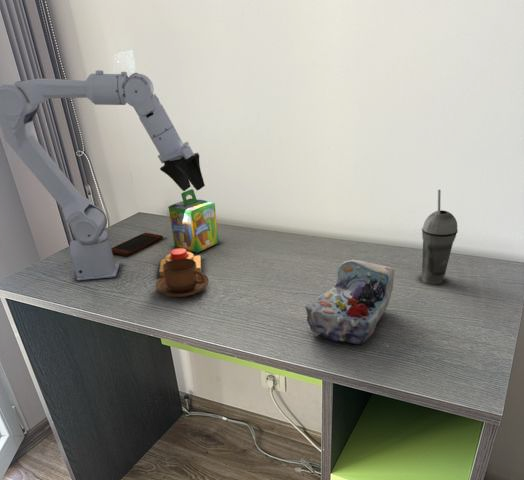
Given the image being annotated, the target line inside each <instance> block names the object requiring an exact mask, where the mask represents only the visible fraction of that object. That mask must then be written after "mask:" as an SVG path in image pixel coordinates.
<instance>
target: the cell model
mask: <svg viewBox="0 0 524 480" xmlns="http://www.w3.org/2000/svg"><path fill="white" fill-rule="evenodd" d="M394 278H395V269H394V268H393V267H390V266H385V265H381V264H378V263H374V262H369V261H366V260H360V259H349V260H345V261H343V262H342V263H341V264H340V265H339V267H338V269H337V277H336V282H335V284H334V285H333V286H332V288H331V289H330V290H329V291H326V292H323V293H321V294H320V295H319V296H317V297H315V298H314V299H313V301H311V302H309V303H308V304H306V306H305V311H306V322H307V324H308V326H309V327H310V331H311V332H312V333H313V335H314V336H315V337H318V336H322V337H323V338H325V339H328V340H331V341H332V342H333V341H334V342H337V343H338V342H340V343H341V342H345V343H348V344H352V345H362V344H364V343H365V342H366V341H367V340H368V339H370V337H371V336H372V335H373V334H374V331H376V330H375V329H376V326H377V323H378V322H379V321H380V320H381V318H382V316H383V314H384V313H385V311H386V309H387V308H388V305H389V303H390V300H391V297H392V293H393V289H394Z"/></svg>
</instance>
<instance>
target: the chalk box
mask: <svg viewBox="0 0 524 480" xmlns="http://www.w3.org/2000/svg"><path fill="white" fill-rule="evenodd" d="M180 195H181V198H182V201H179V202H176V203H173V204H171V205H168V208H167V209H168V212H169V219H170V224H171V225H170V226H171V231H172V232H171V233H172V237H173V238H172V239H173V245H174V249H179V248H182V249H186V250H187V252H191V253H197V254H198V253H200V252H203V251H205V250H206V249H209V248H211V247H214V246H216V245H218V244H219V241H220V240H219V233H218V232H219V231H218V221H217V212H216V203H215V202H212V201H207V200H204V199H197V196H196V194H195V190H194V189H193V188H191V189H187V190H185V191H183V192H181V194H180ZM188 196H191V198H188V199H187V197H188Z"/></svg>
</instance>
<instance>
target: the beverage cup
mask: <svg viewBox="0 0 524 480" xmlns="http://www.w3.org/2000/svg"><path fill="white" fill-rule="evenodd" d="M441 191H442V190H441V189H438V190H437V210H436V211H434V212H431V213H430V214H429V215H428V216H427V217H426V219H425V221H424V223H423V225H422V228H421V237H422V238H421V239H422V259H421V261H422V262H421V281H422V282H424V283H425V284H429V285H440V284H442V283H443V282H444V278H445V276H446V271H447V268H448V263H449V261H450V256H451V252H452V249H453V244H454V242H455V240H456V237H457V234H458V222H457V219H456V217H455V216H454V215H453V213H451V212H450V211H447V210H441V194H442V192H441Z"/></svg>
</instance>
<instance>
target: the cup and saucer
mask: <svg viewBox="0 0 524 480" xmlns="http://www.w3.org/2000/svg"><path fill="white" fill-rule="evenodd" d="M163 269H164V275H165V276H162V277H161V278H159V279H158V280H157V281H156V283H155V288H156V290H157V291H158V292H159V293H160V294H162V295H164V296H166V297H170V298H184V297H189V296H193V295H196V294H198V293H201V292H202V291H203V290H204V289H205V288H206V287H207V286H208V285H209V278H208V277H209V276H207V275H206V274H204V273H203V272H202V271H201V272H200V271H197V268H196V262H195V261H194V260H191V259H175V260H171V261H169V262H167V263H165V264H164V266H163Z"/></svg>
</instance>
